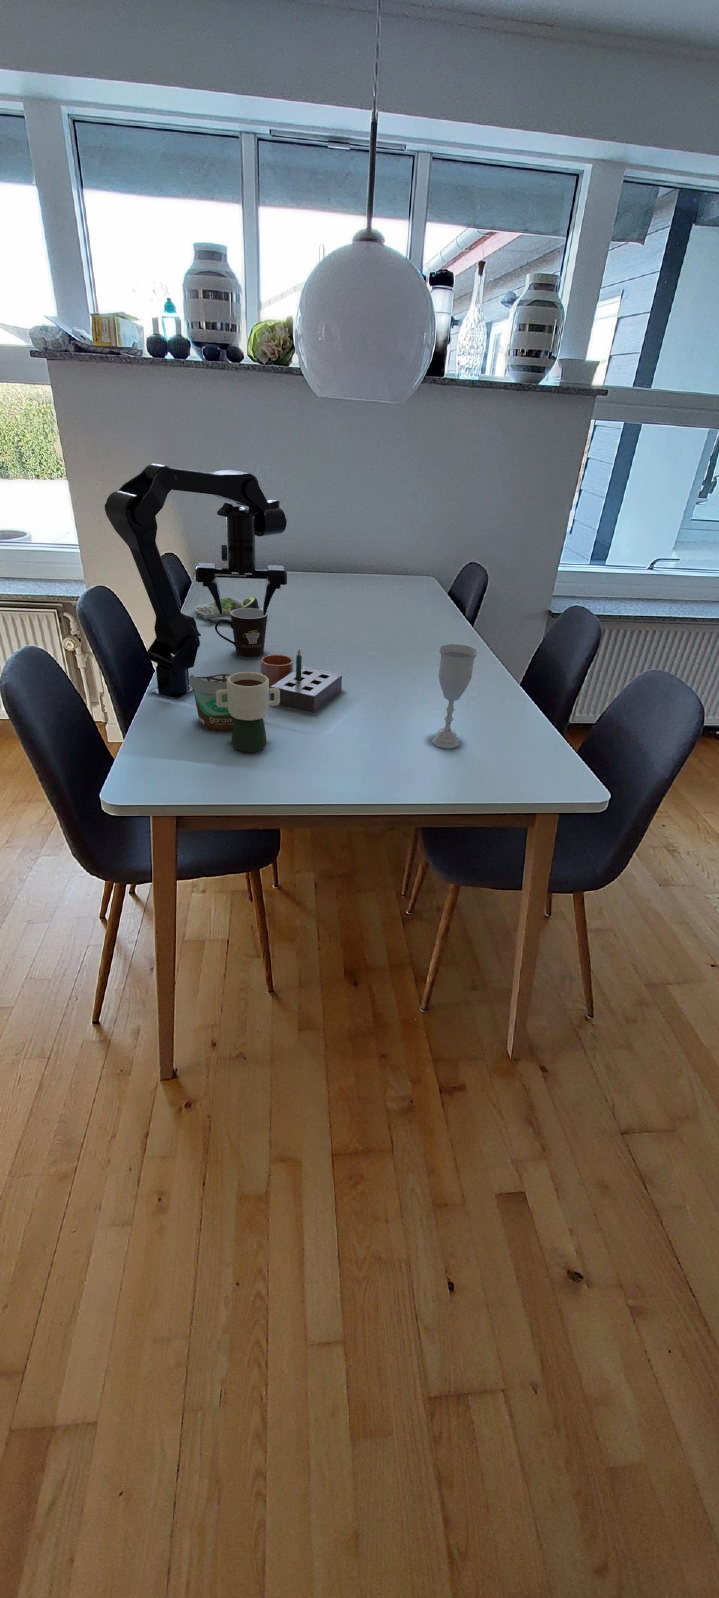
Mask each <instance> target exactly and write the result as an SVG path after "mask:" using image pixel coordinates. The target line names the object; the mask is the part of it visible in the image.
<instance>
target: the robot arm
mask: <svg viewBox="0 0 719 1598" xmlns="http://www.w3.org/2000/svg"><path fill="white" fill-rule="evenodd" d="M257 477H258V476H256V474H253V473H250V472H245V471H241V470H240V471H239V470H234V469H223V470H217V471H214V472H206V471H198V470H192V469H184V468H178V467H170V466H168V465H164V464H159V463H150V464H148V465H146V466H145V467H144V468H143V470H142V471H141V472H140V473H138V474H137V475H136V476H134V477H132V478H130V479H129V480H128V481H126V482H124V483H123V484H122V485H121V487H119V488H118V490H115V491H113V492H112V493H110V494H109V495H108V497H107V499H106V502H105V504H104V511H105V515H106V517H107V519H108V521H109V522H110V524H111V526H112V527H113V530H114V531H115V532H116V534H118V536H119V537H120V538H121V540H123V542H124V543H125V544H126V546H128V548H129V550H130V553H131V556H132V558H133V560H134V563H135V565H136V568H137V571H138V574H139V576H140V578H141V581H142V584H143V586H144V589H145V590H146V594H147V596H148V600H149V602H150V604H151V607H152V609H153V612H154V615H155V621H154V632H155V638H154V640H153V642H152V643H151V645H150V646H149V648H148V649H147V651H146V655H147V657H148V660H150V662H153V663H155V664H157V665H156V666H155V671H156V683H157V688H156V689H154V690H152V691H151V693H152V694H155V695H160V696H164V697H167V698H172V699H178V700H179V699H180V698H182V697H184V696H186V695H188V694H189V693H191V692H194V689H193V688H192V687H191V686H190V685H189V677H190V675H189V674H190V673H189V669H192V668H194V667H195V663H196V659H197V654H198V651H199V648H200V647H201V641H200V637H202V634H201V633H200V632H199V630H198V627H197V621H196V619H195V617H194V616H190V615H188V614H185V613H183V612H182V611H181V609H180V606H179V603H178V600H177V597H176V595H175V592H174V589H173V586H172V584H171V581H170V577H169V575H168V573H167V570H166V567H165V565H164V562H163V558H162V556H161V553H160V550H159V548H158V545H157V539H156V538H157V532H158V522H157V517H156V516H157V515H158V514H159V513H160V511H162V509H163V508H164V506H165V503H166V500H167V497H168V494H169V493H170V492H171V491H179V492H188V493H197V494H204V495H212V496H214V497H216V498H219V499H222V500H225V501H229V502H233V503H235V504H236V506H234V505H233V504H232V503H229V502H224V503H223V505H222V506H221V507H220V508H219V509H218V510H217V511H216V515H217V516H220V517H223V518H225V524H226V525H225V526H226V527H225V528H226V544H221V546H220V547H221V548H220V549H221V552H220V553H221V561H222V562H227V567H225V568H224V567H217V564H216V562H198V564H196V566H195V574H194V575H195V582H196V583H201V584H202V587H206V588H207V589H208V590H209V593H210V594H211V596H212V598H213V601H215V603H216V605H217V608H218V610H219V613H220V614H222V603H221V591H220V585H219V579H220V578H223V579H224V578H225V579H253V580H254V579H255V580H265V589H264V596H263V597H264V598H263V606H262V608H263V615H264V616H265V615H266V612H267V611H268V608H269V605H270V602H271V600H272V598H273V596H274V594H275V592H276V590H280V589H281V587H282V586H286V585H288V572H287V571H288V570H287V568H286V567H285V565H276V564H268V565H267V569H257V567H256V561H257V559H256V556H257V555H256V537H267V536H273V535H274V536H276V535H282V534H283V533H284V532H285V530H286V528H287V524H288V522H287V521H288V519H287V517H286V514H285V511H284V510H283V508H281V506H280V505H281V504H280V503H281V501H280V500H278V499H267V498H266V496H265V494H264V492H263V490H262V489H261V487H260V482H259V480H258V478H257ZM246 507H247V508H246ZM267 613H268V612H267Z"/></svg>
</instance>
